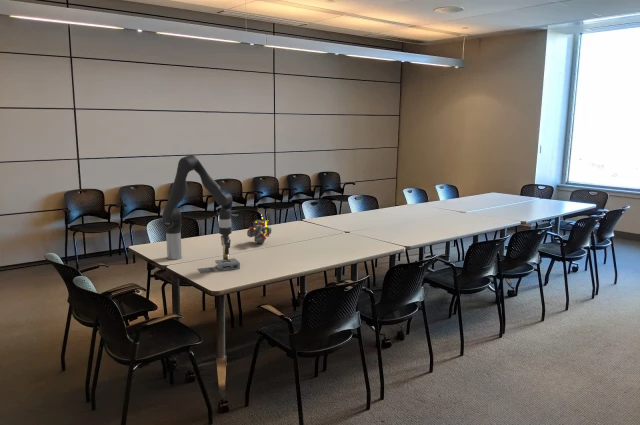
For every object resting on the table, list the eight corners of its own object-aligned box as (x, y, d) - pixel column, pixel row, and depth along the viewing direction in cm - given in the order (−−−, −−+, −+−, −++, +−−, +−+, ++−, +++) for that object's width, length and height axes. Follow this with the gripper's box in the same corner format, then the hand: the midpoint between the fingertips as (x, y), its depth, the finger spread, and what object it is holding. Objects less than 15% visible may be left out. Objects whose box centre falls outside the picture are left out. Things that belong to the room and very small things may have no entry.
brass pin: (222, 258, 310) (221, 241, 308) (228, 258, 312) (227, 240, 310) (224, 260, 307) (223, 242, 305) (229, 259, 308) (229, 242, 307)
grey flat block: (215, 267, 313) (215, 260, 312) (234, 264, 318) (234, 258, 317) (219, 271, 303) (219, 264, 302) (240, 269, 308) (239, 262, 308)
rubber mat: (196, 269, 307) (196, 268, 307) (211, 267, 311) (211, 267, 311) (200, 273, 299) (200, 273, 298) (215, 272, 302) (215, 271, 302)
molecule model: (276, 246, 365) (276, 216, 361) (247, 248, 360) (247, 217, 356) (271, 239, 389) (271, 210, 385) (244, 240, 384) (243, 211, 380)
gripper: (216, 224, 310) (216, 251, 313) (222, 228, 298) (223, 256, 301) (228, 223, 314) (228, 250, 316) (234, 227, 301) (235, 255, 304)
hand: (225, 253), depth 309 cm, fingers closed on brass pin, 3 cm apart
